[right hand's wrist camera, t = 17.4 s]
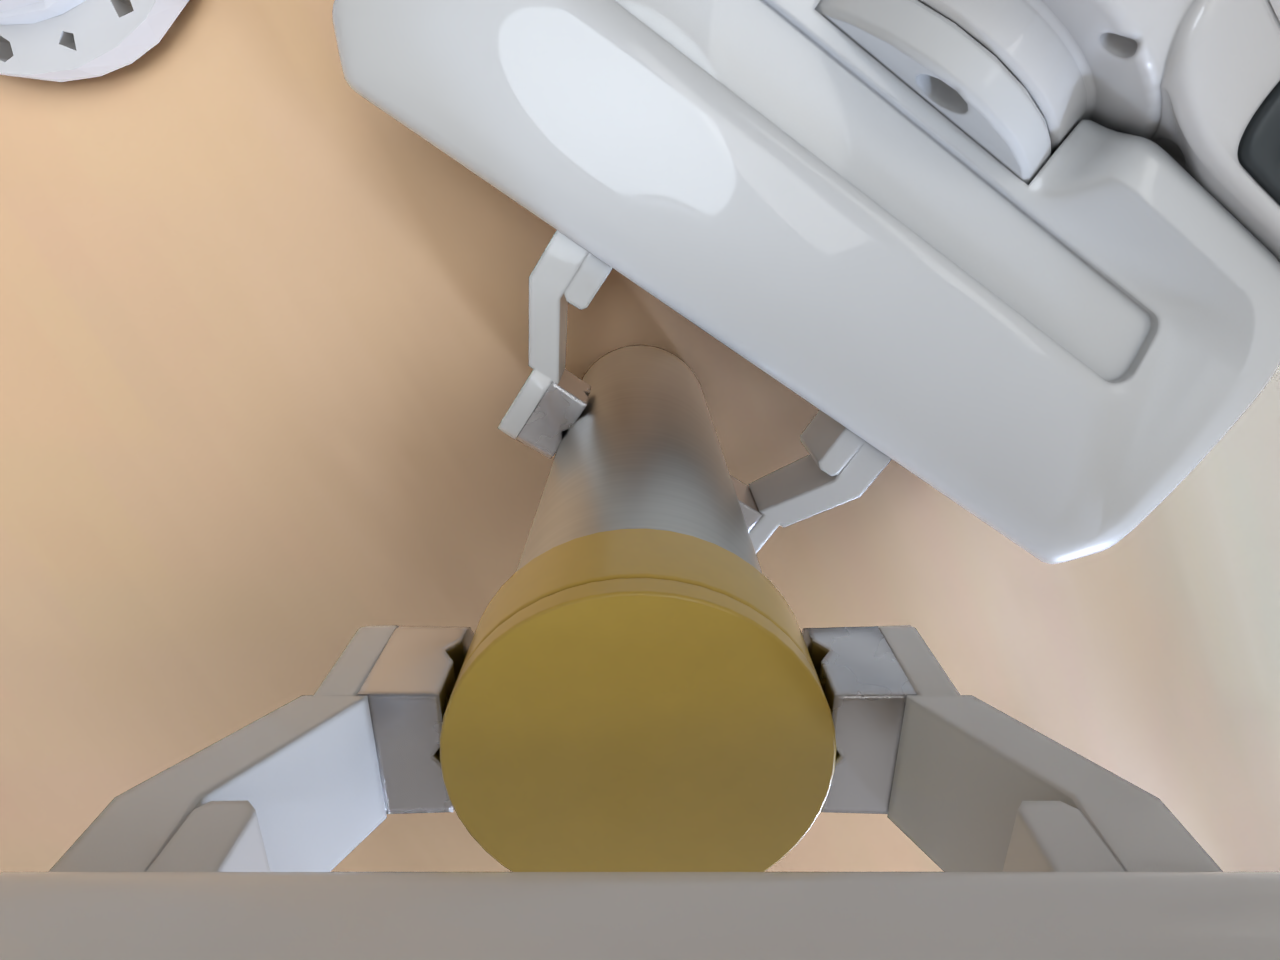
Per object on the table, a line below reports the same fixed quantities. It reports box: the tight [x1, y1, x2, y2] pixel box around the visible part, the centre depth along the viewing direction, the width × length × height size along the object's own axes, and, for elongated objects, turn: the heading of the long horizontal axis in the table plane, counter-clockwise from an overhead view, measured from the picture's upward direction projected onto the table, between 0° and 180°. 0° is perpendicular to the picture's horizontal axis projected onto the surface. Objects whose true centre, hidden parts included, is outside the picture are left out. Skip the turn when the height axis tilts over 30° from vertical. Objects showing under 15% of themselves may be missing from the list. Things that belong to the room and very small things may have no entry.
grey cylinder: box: [516, 345, 763, 575], centre depth 16 cm, size 4×4×15 cm
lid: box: [440, 528, 836, 872], centre depth 9 cm, size 5×5×2 cm
